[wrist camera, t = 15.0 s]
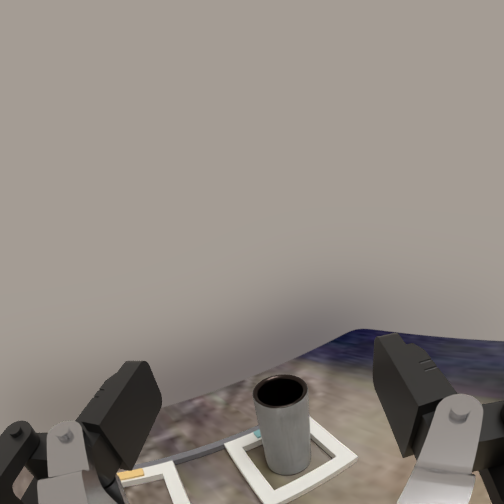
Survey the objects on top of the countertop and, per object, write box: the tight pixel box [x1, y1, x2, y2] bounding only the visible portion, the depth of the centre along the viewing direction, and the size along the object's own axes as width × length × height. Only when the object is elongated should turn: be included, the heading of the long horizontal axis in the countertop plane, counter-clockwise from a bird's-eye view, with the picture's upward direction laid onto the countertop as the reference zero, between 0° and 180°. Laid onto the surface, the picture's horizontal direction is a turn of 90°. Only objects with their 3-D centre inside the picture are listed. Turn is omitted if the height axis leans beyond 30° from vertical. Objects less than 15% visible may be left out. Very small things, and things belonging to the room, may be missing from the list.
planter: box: [253, 375, 311, 475], centre depth 23 cm, size 4×4×10 cm
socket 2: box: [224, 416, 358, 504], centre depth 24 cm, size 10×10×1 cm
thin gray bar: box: [132, 425, 259, 470], centre depth 25 cm, size 16×1×1 cm, turn 116°
